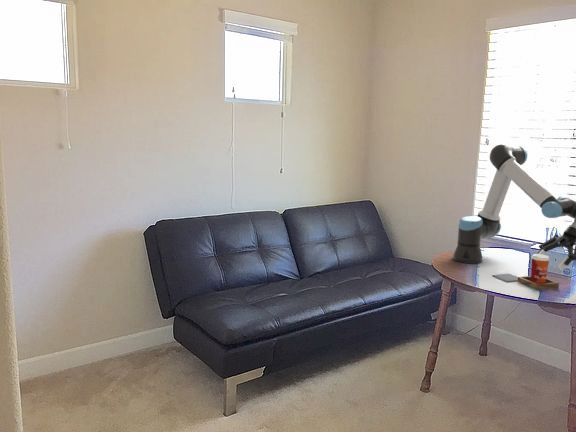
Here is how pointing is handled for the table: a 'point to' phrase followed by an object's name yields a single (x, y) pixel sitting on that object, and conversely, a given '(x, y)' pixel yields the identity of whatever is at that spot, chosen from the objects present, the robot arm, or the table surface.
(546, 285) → the brown square open frame
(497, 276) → the mat
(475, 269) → the table surface
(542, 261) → the paper cup
